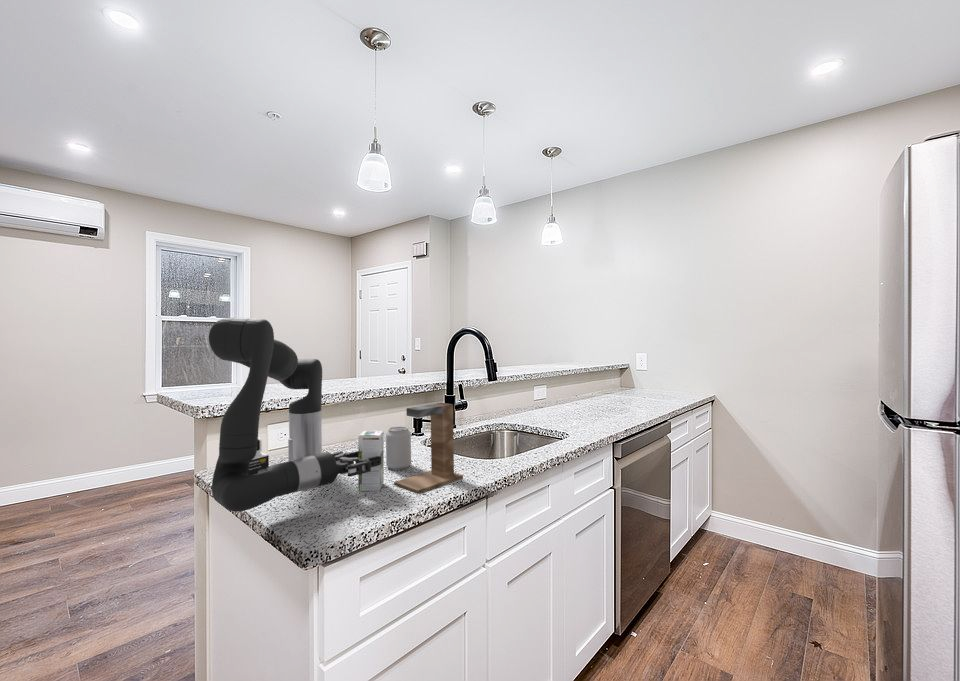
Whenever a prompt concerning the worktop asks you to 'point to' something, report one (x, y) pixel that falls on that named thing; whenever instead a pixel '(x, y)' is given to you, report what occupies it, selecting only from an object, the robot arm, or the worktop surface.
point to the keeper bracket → (435, 449)
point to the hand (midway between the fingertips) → (371, 457)
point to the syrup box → (371, 457)
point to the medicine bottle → (258, 461)
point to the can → (398, 448)
